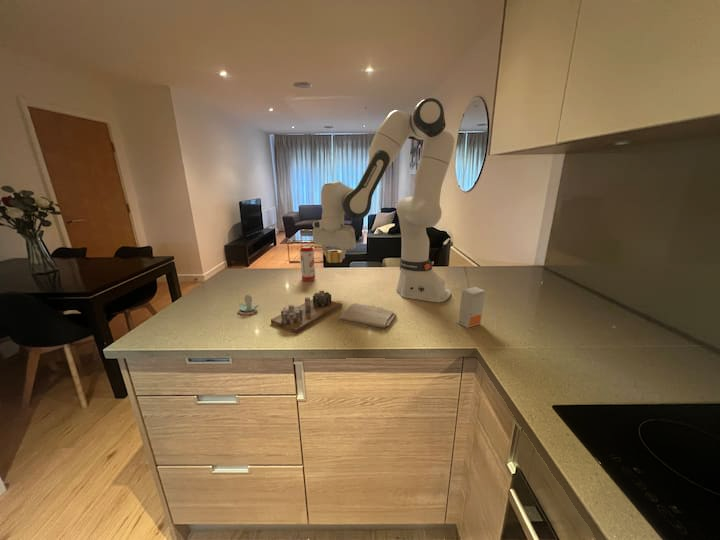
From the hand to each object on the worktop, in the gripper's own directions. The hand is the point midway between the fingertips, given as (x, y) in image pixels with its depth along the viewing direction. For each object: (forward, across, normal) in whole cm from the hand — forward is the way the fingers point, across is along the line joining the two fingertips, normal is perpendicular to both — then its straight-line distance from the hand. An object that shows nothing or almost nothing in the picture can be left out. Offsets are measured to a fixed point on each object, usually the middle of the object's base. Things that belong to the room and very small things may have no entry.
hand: (334, 256), depth 120 cm
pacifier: (+15, +14, +34) cm, 40 cm away
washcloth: (+16, -26, +14) cm, 34 cm away
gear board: (+15, -7, +24) cm, 29 cm away
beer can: (+15, +20, -4) cm, 26 cm away
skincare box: (+15, -56, -1) cm, 58 cm away
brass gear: (+2, 0, 0) cm, 2 cm away
